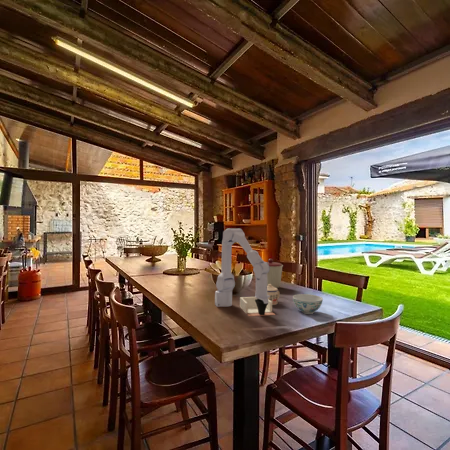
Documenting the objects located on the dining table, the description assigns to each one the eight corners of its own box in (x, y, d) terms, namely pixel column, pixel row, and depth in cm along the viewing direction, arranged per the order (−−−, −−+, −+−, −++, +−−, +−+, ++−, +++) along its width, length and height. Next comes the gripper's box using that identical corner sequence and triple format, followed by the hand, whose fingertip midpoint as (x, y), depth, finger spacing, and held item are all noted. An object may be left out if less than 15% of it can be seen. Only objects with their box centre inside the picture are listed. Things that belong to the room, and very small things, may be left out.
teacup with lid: (269, 307, 158) (269, 286, 158) (258, 304, 165) (258, 283, 165) (284, 304, 164) (284, 284, 164) (273, 301, 172) (273, 281, 172)
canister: (280, 285, 219) (280, 257, 219) (285, 290, 201) (285, 260, 201) (257, 284, 219) (257, 257, 219) (259, 290, 201) (259, 260, 201)
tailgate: (246, 315, 144) (248, 317, 139) (246, 313, 144) (248, 315, 139) (271, 313, 147) (275, 316, 142) (271, 311, 147) (275, 314, 142)
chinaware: (316, 308, 157) (316, 294, 157) (327, 316, 142) (327, 301, 142) (289, 308, 157) (289, 294, 157) (297, 317, 142) (297, 301, 142)
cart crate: (245, 315, 144) (245, 303, 144) (239, 308, 156) (239, 297, 156) (272, 313, 147) (272, 301, 147) (264, 307, 159) (264, 296, 159)
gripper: (274, 289, 136) (274, 318, 135) (264, 283, 150) (264, 310, 150) (260, 290, 134) (260, 319, 134) (251, 284, 149) (251, 310, 148)
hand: (261, 314), depth 142 cm, fingers closed on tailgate
